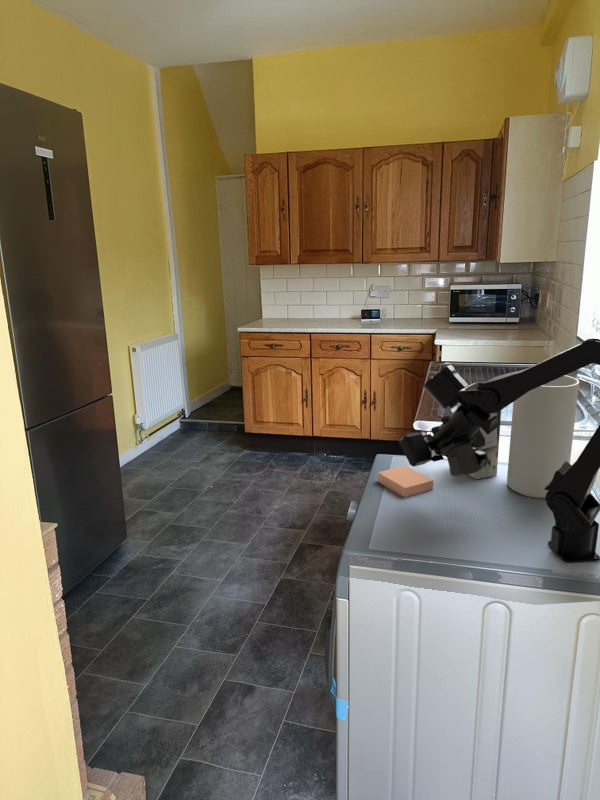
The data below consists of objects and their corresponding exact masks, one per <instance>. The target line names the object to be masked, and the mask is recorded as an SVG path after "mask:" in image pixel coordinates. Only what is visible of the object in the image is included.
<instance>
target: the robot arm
mask: <svg viewBox="0 0 600 800" xmlns="http://www.w3.org/2000/svg"><path fill="white" fill-rule="evenodd" d="M591 364H595V365H598V366H600V335H599V334H595V335H592V336H591V337H589V338H587V339H585V340H584V341H583V342H581V343H578V344H577V345H575V346H572V347H569V349H566V350H564V351H562V352H559V353H557V354H555V355H553V356H551V357H549V358H547V359H545V360H542V361H540V362H538V363H536V364H534V365H532V366H530V367H528V368H525V369H522V370H518V371H517V370H516V371H512V372H508V373H505V374H502V375H501V374H500V375H498V376H495V377H492V378H490V379H489V380H486V381H483V382H482V381H481V382H473V383H472V384H468V383H467V382H466V381H465V380H464V378H463V377H462V376H461V375H460V374H459V372H458V371H457V370H456V369H455V367H454V366H453V365H452V364H449V365H447V366H445V367H444V368H443V369H441V370H440V371H439V372H437V373H436V374H435V375H434V376H432V377H430V378H429V379H428V380H427V381H426V382H425V383H424V384H423V385H422V387H423V388H424V390H426V392H427V393H428V394H429V395H430V396H431V397H432V398H433V400H435V402H436V404H438V406H440V407H441V408H442V409H444V410H446V409H447V408H448V409H450V410H451V409H453V408H455V407H456V409H455V410H454V411H453V412H452V413H451V414H450V415H446V416H445V415H444V416H443V417H441V419H440V420H441V422H442V423H441V424H440V425H437V426H432V427H431V429H430V431H431V433H432V434H431V433H428V434H424V435H423V433H420V432H412V433H407V434H403V436H402V437H401V438H400V439H399V441H398V444H399V446H400V448H401V449H402V451H403V453H404V455H405V457H406V459H407V461H408V463H409V465H410V466H412V467H418V466H422V465H425V464H427V463H429V462H439V461H442V460H444V459H445V458H444V457H446V460H447V463H448V466H449V473H450V475H451V476H452V477H454V478H455V477H462V476H469V475H468V474H471V473H475V472H478V471H479V470H481V468H482V465H484V464H485V463H486V462H487V461H488V456H487V453H485V452H483V451H480V449H481V448H482V447H484V446H485V438H484V436H483V435H482V433H481V431H480V429H481V428H482V429H483V430H484V431H485V432H486V434H490V433H491V432H492V431H494V430H495V429H496V428H498V427H499V422H498V420H497V416H494V415H492V414H491V413H497V412H499V411H501V412H502V410H504V409H505V408H507V406H510V405H511V404H513V402H514V401H515V400H517V399H518V398H520V397H521V396H523V395H524V394H526V393H527V392H529V391H530V390H533V389H535V388H537V387H539V386H542V385H544V384H546V383H549V382H551V381H553V380H555V379H558V378H560V377H562V376H564V375H566V376H568V375H569V374H570V373H573V372H575V371H578V370H580V369H582V368H585V367H587V366H590V365H591ZM458 404H461V405H460V406H459V407H458V408H457V405H458ZM477 450H479V451H477ZM599 470H600V424H598V427H597V428H596V429H595V431H594V433H593V434H592V435H591V437H590V439H589V441H588V442H587V444H586V445H585V446H584V448H583V450H582V451H581V452H580V454H579V456H578V457H577V459H576V461H575V462H574V463H573V464H571V463H570V464H569V463H568V462H567V461H564V463H563V464H562V465H561V466H560V467H559V468H558V469H557V471H556V472H555V474H554V477H553V479H552V480H551V481H550V483H549V484H548V485H547V486H546V487H545V490H549V491H548V492H547V493H546V496H545V498H544V501H545V504H546V506H547V508H549V510H550V511H551V512H552V515H553V518H554V521H555V522H554V525H552V526H551V527H552V528H551V536H550V540H549V541H548V542H547V545H548V546H549V547H550V548H551V549H552V550H553V551H554V552H555V553H556V555H558V556H559V558H560V559H561V560H563V562H565V563H575V562H592V561H600V555H599V554H598V553H597V552H596V551H597V543H598V536H599V528H600V523H599V522H597V521H596V520H595V519H596V517H597V516H598V514H599V513H600V502H599V501H598V500H597V498H596V497H595V496H594V495H593V494H592V493H591V492H592V490H593V487H594V485H595V482H596V479H597V476H598V472H599Z"/></svg>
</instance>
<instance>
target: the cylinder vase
mask: <svg viewBox="0 0 600 800" xmlns="http://www.w3.org/2000/svg"><path fill="white" fill-rule="evenodd" d="M579 385H580V380H578V378H575V377H573V376H570V375H564V376H562V377H560V378H558V379H555V380H553V381H551V382H549V383H546V384H544V385H542V386H539V387H537V388H535V389H533V390H530V391H529V392H527V393H526V394H524V395H523V396H521V397H520V398H518V399H517V400H515V401H514V402H512V412H511V413H512V415H511V426H510V439H509V449H508V462H507V463H508V464H507V475H506V476H507V477H506V482H507V485H508V487H509V488H510V489H511V490H512V491H514V492H516V493H517V494H520V495H522V496H526V497H531V498H536V499H545V496H546V493H547V492H548V491H549V490H545V487H546V486H547V485H548V484H549V483H550V481H551V480H552V479H553V477H554V474H555V472H556V471H557V469H558V468H559V467H560V466H561V465H562V464H563V463H564V461H567V462H568V463H569V464H571V459H572V458H571V457H572V449H573V441H574V432H575V431H574V429H575V422H576V421H575V420H576V412H577V405H578V395H579V388H580V386H579Z"/></svg>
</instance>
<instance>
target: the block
mask: <svg viewBox="0 0 600 800" xmlns="http://www.w3.org/2000/svg"><path fill="white" fill-rule="evenodd" d="M377 482H379V483H380V484H381V485H383V486H385V487H386V486H387V487H386V488H388V489H390V490H392V491H394V492H395V493H397V494H399V495H400V496H402V497H403V498H408V497H411V496H415V495H418V494H421V493H424V492H425V493H426V492H428V491H432V490H433V489H434V479H432V478H430V477H428V476H427V475H424V474H422V473H420V472H419V471H416V470H415V469H412V468H411V467H409V466H407V465H402V466H398V467H394V468H390V469H386V470H383V471H378V472H377ZM431 489H432V490H431Z"/></svg>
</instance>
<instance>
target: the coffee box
mask: <svg viewBox="0 0 600 800" xmlns="http://www.w3.org/2000/svg"><path fill="white" fill-rule="evenodd" d="M460 405H461V404H460V403H459V404H457V405H456V409H457V408H458V407H459V406H460ZM491 414H492V415H494V416H497V420H498V422H499V427H498V428H496V429H495V430H494V431H492V432H491V433H490V434H486V432H485V431H484V430H483V429H482V428H481V429H480V431H481V433H482V435H483V436H484V438H485V446H484V447H482V448H481V449H480V451H483V452H485V453H487V456H488V461H487V462H486V463H485V464H484V465H482V468H481V470H479V471H478V472H475V473H471V474H468V475H467V476H470V477H472V478H473V479H475V480H479V479H484V478H488V477H490V478H491V477H494V476H497V474H498V463H499V462H498V461H499V447H500V432H501V431H500V430H501V417H502V416H501V415H502V410H501V411H499V412H497V413H491ZM477 451H479V450H477Z"/></svg>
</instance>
